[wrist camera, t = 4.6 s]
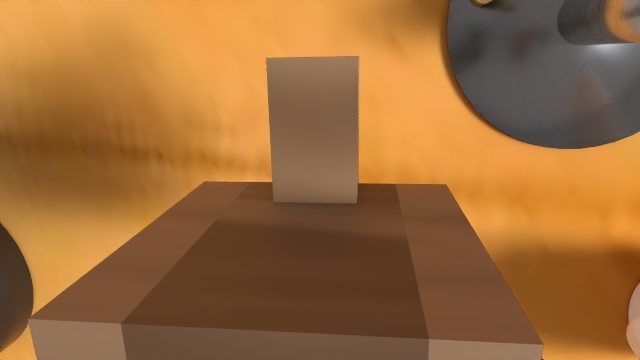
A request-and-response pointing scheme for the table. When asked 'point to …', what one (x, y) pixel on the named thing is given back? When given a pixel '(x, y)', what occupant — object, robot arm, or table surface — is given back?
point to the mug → (634, 322)
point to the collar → (297, 260)
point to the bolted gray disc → (550, 67)
